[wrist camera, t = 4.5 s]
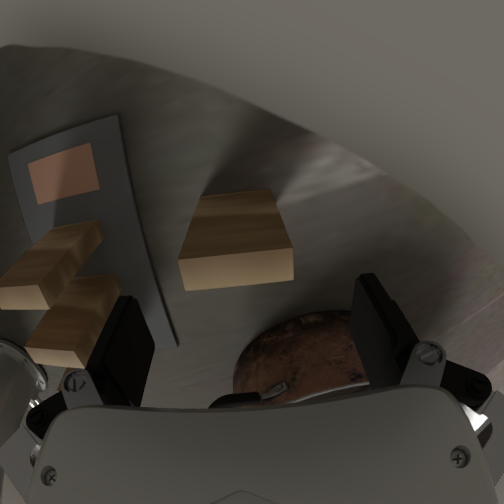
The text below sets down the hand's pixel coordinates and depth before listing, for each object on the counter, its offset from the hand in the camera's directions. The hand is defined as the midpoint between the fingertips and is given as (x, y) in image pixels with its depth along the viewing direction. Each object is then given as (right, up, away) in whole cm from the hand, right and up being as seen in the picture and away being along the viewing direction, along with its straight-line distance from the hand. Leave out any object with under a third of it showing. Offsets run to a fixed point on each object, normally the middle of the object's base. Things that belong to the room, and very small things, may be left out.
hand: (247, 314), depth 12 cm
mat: (-17, +2, +15) cm, 22 cm away
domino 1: (-17, +4, +13) cm, 22 cm away
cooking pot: (+9, -13, +25) cm, 30 cm away
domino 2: (-16, -1, +16) cm, 23 cm away
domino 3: (-1, +7, +13) cm, 15 cm away
